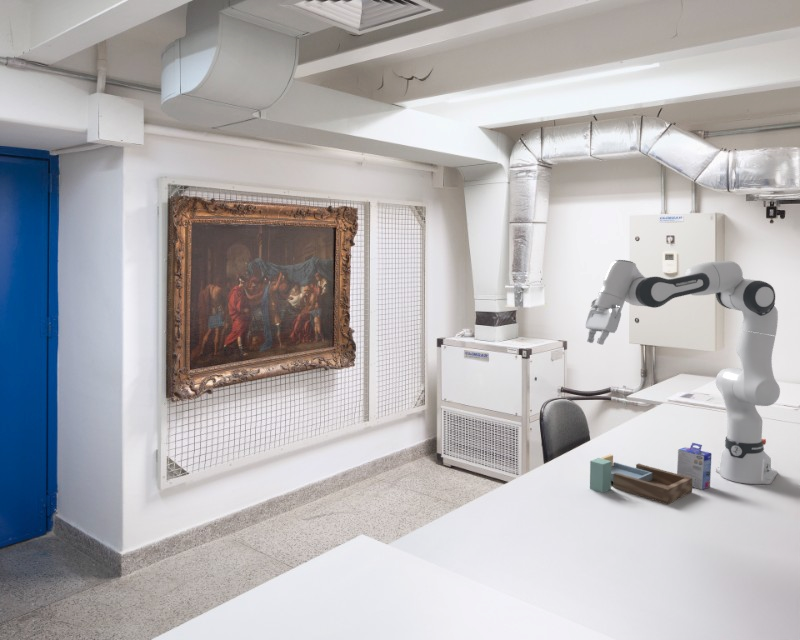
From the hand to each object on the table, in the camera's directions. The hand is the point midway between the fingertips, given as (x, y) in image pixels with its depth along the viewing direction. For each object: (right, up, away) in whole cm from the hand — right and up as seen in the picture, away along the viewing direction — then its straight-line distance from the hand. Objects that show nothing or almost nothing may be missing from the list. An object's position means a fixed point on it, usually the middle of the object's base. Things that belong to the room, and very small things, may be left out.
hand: (594, 343), depth 220 cm
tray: (+14, -49, +13) cm, 52 cm away
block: (+4, -51, +6) cm, 51 cm away
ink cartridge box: (+37, -50, +8) cm, 63 cm away
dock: (+21, -51, +4) cm, 55 cm away
